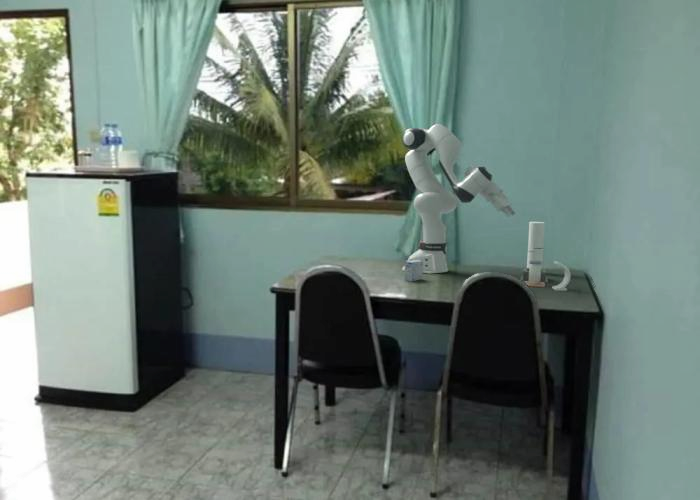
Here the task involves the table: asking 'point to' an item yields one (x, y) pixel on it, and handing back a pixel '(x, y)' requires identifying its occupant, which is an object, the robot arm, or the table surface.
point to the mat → (542, 284)
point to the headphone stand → (565, 281)
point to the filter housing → (526, 275)
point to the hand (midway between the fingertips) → (512, 215)
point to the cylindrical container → (535, 242)
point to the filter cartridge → (534, 271)
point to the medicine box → (413, 270)
